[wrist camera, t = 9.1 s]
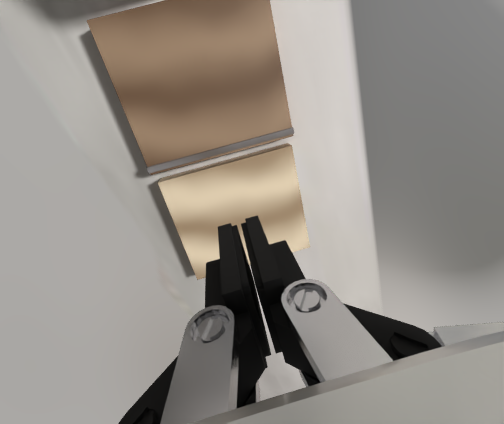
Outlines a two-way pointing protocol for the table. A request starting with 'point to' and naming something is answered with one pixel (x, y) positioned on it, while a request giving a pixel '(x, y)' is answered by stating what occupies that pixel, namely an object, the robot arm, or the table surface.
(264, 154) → the oak plank
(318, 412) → the robot arm
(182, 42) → the walnut board
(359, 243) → the table surface
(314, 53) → the table surface
